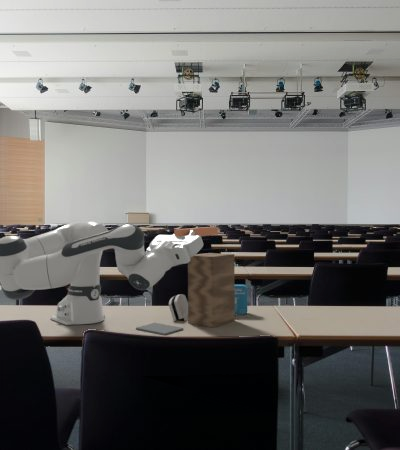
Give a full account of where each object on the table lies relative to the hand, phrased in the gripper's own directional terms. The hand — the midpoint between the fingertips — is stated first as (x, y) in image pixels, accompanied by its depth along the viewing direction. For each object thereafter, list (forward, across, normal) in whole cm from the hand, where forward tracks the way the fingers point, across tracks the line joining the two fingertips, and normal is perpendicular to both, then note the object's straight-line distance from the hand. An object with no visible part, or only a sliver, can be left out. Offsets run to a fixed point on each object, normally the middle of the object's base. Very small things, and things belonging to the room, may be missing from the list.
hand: (187, 231), depth 166 cm
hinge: (-5, -17, -39) cm, 43 cm away
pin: (+4, 0, -4) cm, 6 cm away
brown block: (-5, -1, -38) cm, 39 cm away
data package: (+10, -3, -48) cm, 49 cm away
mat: (-23, -9, -28) cm, 37 cm away
